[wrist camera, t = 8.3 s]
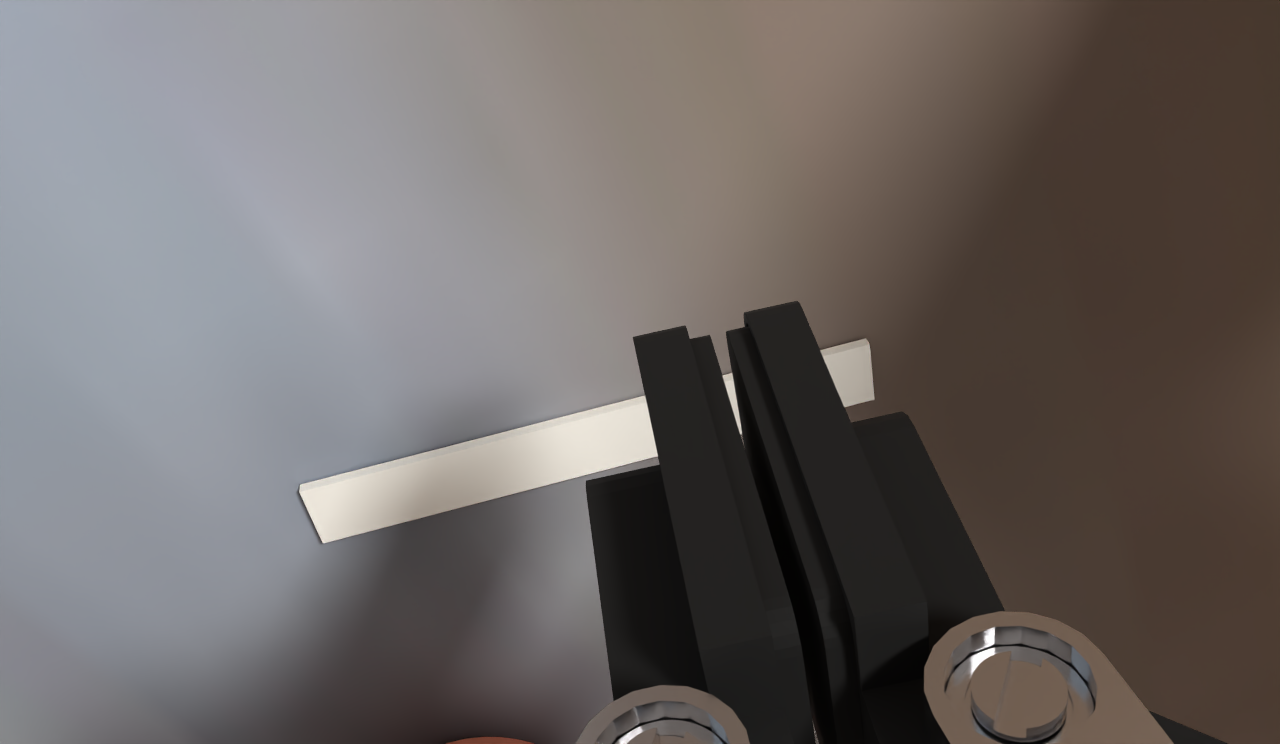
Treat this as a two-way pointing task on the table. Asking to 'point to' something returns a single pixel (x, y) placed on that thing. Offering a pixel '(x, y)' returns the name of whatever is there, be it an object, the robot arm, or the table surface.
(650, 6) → the table surface
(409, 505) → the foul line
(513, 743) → the ball
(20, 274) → the table surface
